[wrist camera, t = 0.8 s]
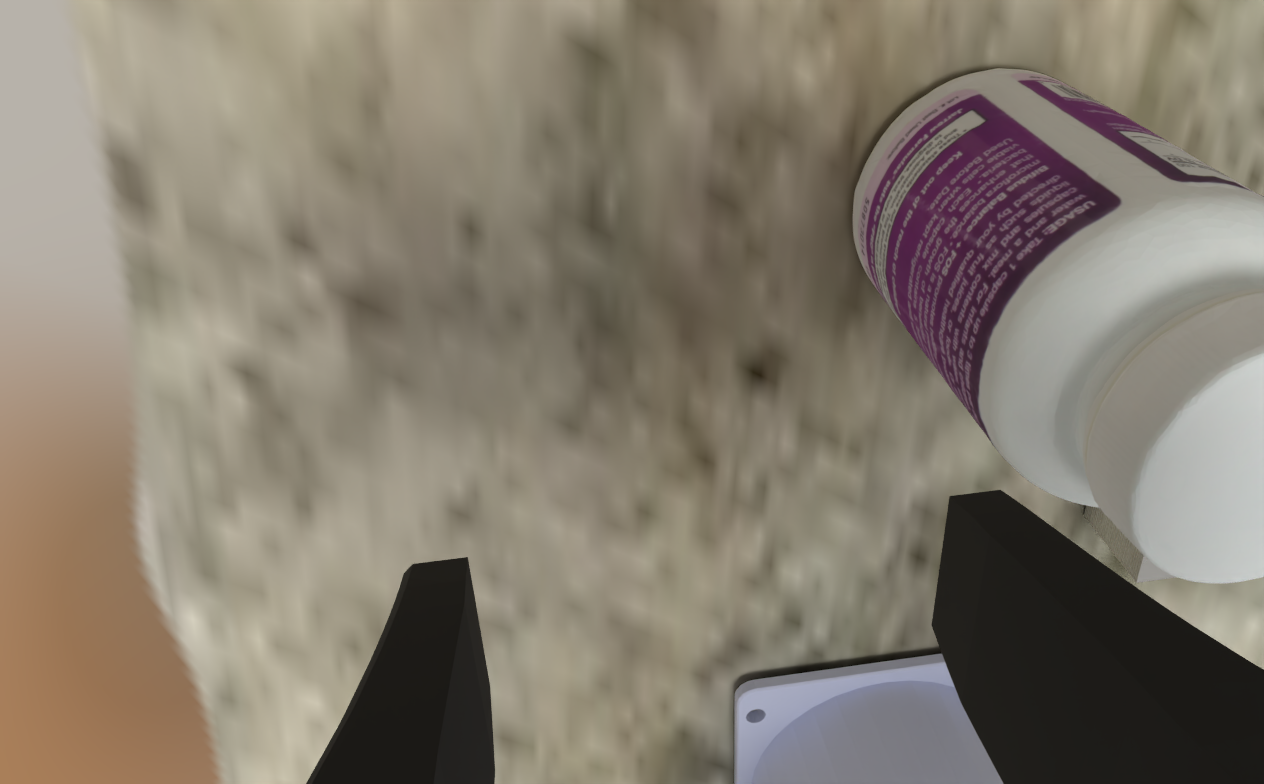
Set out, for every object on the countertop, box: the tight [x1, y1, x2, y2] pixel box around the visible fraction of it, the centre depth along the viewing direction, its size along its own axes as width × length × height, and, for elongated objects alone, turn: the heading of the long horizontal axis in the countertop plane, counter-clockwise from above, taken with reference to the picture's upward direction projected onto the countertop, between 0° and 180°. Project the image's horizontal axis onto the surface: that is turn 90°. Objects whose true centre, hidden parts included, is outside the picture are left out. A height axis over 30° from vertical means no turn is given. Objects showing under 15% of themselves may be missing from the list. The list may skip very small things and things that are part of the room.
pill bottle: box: [853, 68, 1264, 583], centre depth 18 cm, size 5×5×10 cm
